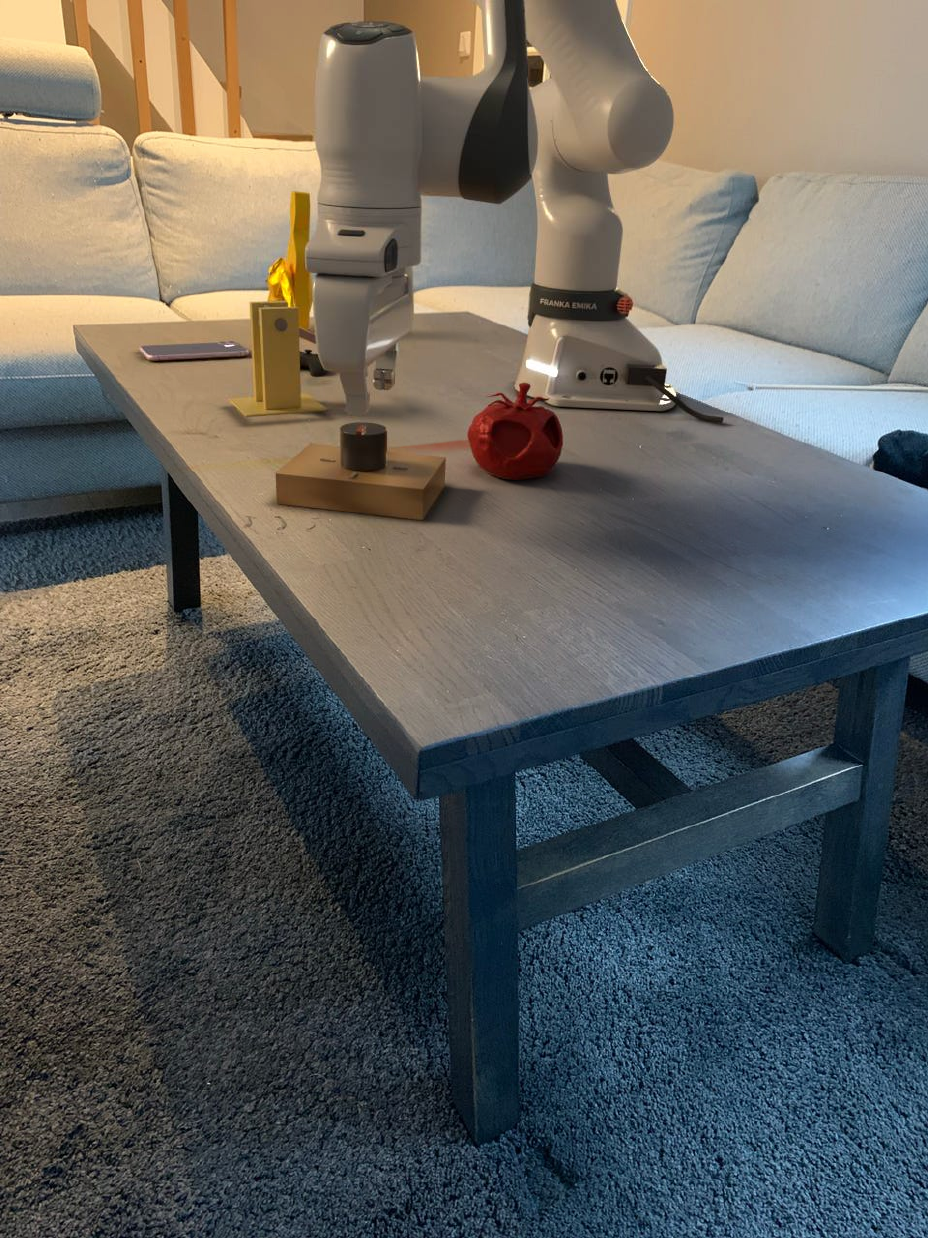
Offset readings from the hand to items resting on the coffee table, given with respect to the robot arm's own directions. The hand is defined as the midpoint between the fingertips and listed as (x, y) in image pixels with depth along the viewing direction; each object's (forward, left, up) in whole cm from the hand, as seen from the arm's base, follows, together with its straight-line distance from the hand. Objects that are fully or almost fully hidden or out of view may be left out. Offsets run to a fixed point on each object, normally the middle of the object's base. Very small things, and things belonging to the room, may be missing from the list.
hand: (371, 400), depth 89 cm
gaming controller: (+23, -45, -9) cm, 51 cm away
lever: (+16, -27, -1) cm, 31 cm away
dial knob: (+1, 0, -6) cm, 6 cm away
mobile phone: (+42, -51, -9) cm, 67 cm away
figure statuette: (+35, -74, -9) cm, 83 cm away
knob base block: (+1, 0, -9) cm, 9 cm away
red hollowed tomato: (-12, -12, -9) cm, 19 cm away
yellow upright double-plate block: (+19, -25, -9) cm, 33 cm away
